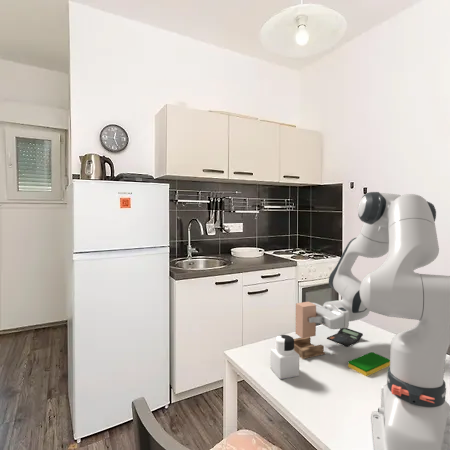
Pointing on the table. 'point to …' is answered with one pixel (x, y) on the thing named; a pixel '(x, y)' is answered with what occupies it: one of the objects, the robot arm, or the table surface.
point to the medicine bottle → (284, 358)
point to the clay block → (305, 319)
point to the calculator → (346, 337)
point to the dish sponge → (369, 363)
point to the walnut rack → (307, 348)
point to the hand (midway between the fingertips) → (303, 317)
